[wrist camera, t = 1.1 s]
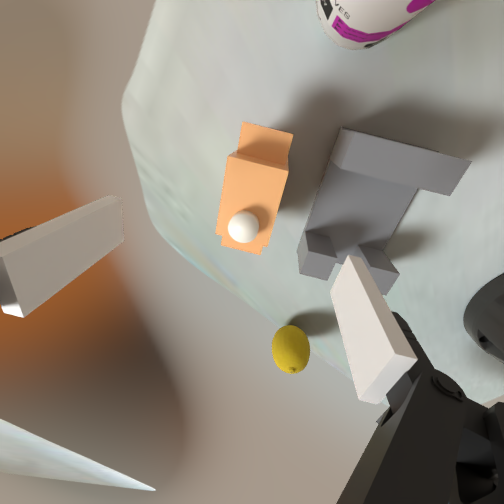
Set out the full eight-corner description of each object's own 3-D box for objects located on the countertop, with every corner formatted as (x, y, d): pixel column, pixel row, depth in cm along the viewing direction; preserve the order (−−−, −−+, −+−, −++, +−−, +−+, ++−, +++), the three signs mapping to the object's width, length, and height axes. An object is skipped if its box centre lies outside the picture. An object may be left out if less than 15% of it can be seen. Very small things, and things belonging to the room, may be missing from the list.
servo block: (294, 132, 26) (299, 138, 17) (266, 231, 32) (259, 275, 23) (248, 120, 26) (230, 120, 17) (229, 222, 32) (208, 262, 23)
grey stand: (434, 150, 25) (473, 158, 20) (369, 268, 32) (385, 296, 27) (340, 127, 25) (355, 129, 20) (296, 250, 32) (299, 275, 27)
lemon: (269, 334, 41) (265, 379, 34) (278, 310, 38) (277, 353, 31) (301, 342, 41) (304, 389, 34) (312, 319, 38) (318, 364, 31)
